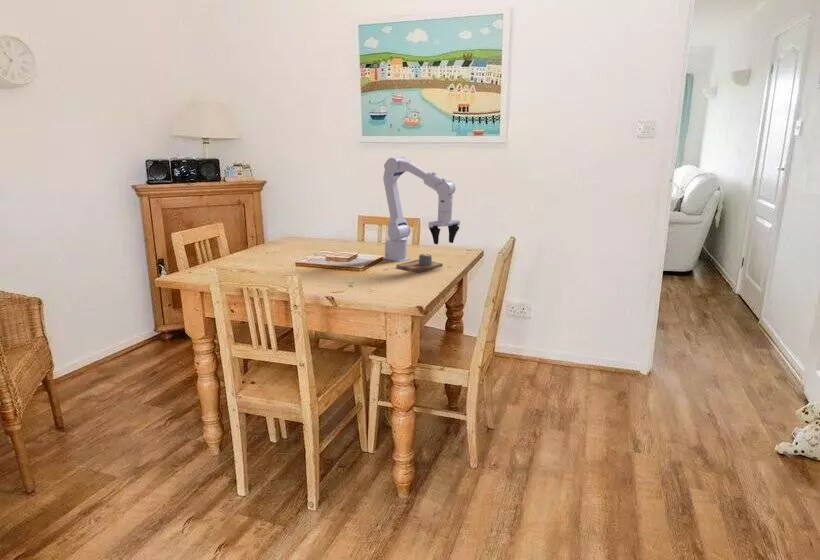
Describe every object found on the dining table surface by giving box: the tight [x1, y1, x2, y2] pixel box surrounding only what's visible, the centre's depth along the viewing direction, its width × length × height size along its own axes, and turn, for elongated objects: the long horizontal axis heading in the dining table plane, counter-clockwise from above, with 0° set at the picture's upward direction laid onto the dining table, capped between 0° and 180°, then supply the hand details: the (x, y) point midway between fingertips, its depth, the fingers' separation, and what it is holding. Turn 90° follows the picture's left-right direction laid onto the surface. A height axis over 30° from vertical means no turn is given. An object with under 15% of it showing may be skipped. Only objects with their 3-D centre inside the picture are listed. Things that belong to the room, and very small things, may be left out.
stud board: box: [396, 258, 444, 274], centre depth 235 cm, size 12×16×4 cm
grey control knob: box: [418, 253, 433, 266], centre depth 235 cm, size 5×5×4 cm
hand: (443, 243), depth 236 cm, fingers open, 7 cm apart
